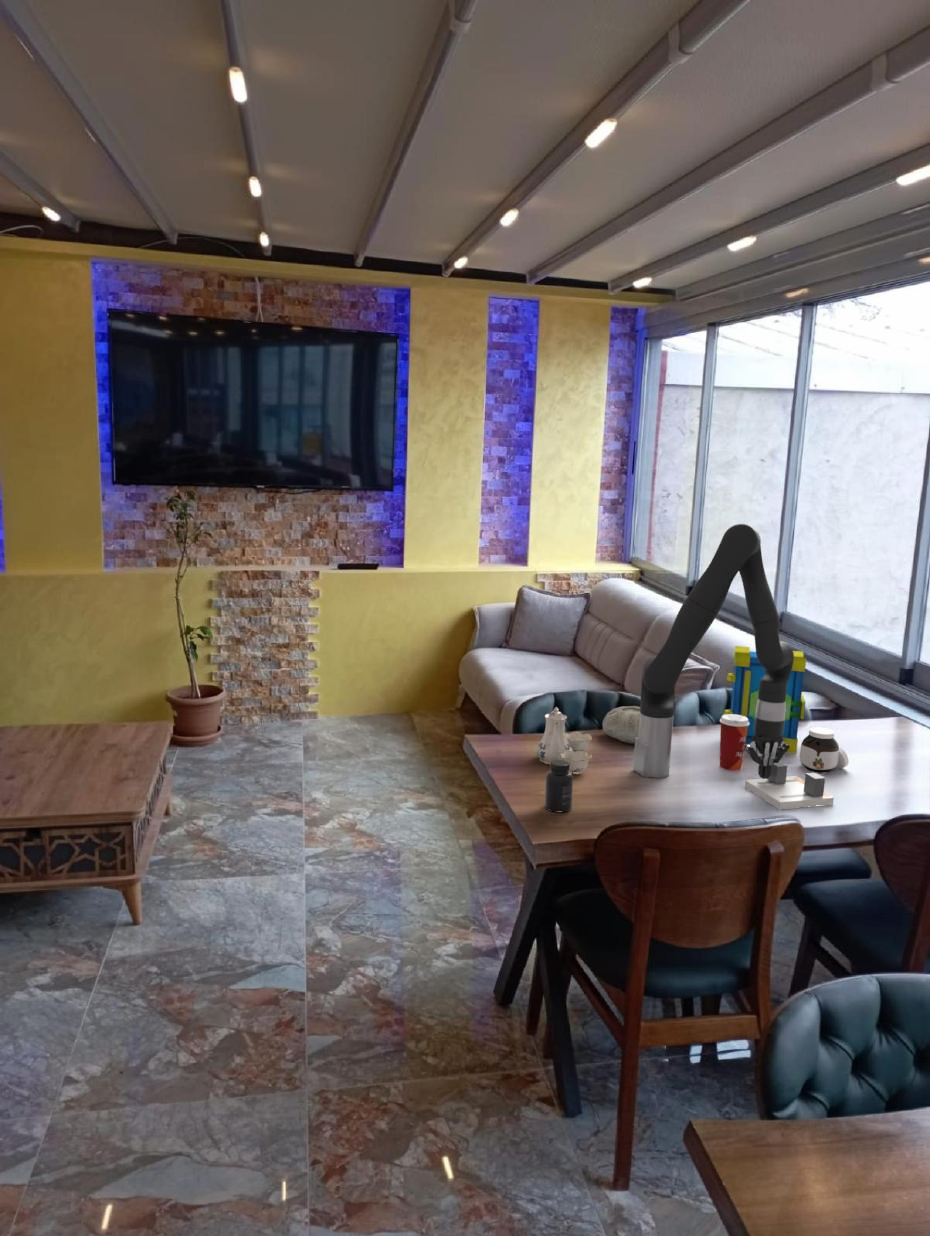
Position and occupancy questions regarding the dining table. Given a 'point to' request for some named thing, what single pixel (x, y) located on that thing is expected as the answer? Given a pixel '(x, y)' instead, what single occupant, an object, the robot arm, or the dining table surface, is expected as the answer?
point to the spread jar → (822, 751)
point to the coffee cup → (732, 741)
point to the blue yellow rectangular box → (748, 687)
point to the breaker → (814, 784)
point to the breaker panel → (786, 793)
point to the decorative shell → (623, 723)
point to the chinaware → (563, 743)
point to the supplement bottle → (559, 786)
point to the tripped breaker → (778, 773)
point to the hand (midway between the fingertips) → (764, 777)
